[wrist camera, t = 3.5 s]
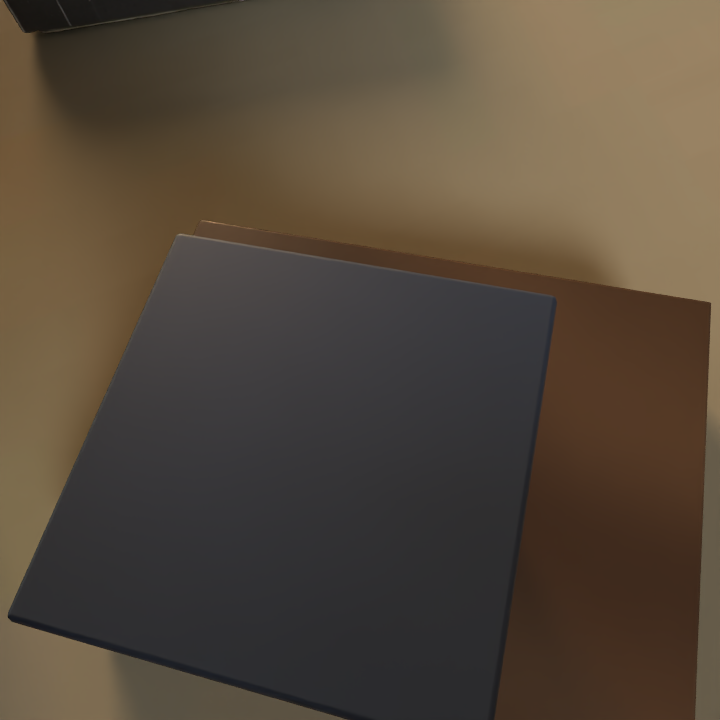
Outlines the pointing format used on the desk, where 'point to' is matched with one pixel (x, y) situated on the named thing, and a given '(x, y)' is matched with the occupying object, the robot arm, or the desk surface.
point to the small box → (306, 484)
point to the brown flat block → (595, 494)
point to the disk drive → (92, 11)
